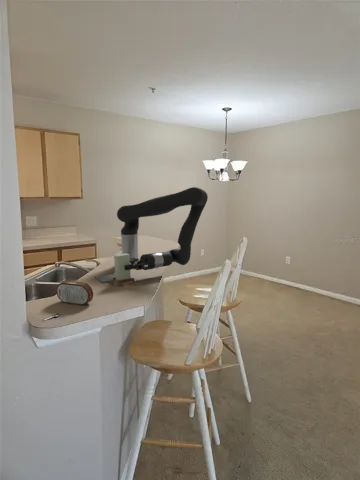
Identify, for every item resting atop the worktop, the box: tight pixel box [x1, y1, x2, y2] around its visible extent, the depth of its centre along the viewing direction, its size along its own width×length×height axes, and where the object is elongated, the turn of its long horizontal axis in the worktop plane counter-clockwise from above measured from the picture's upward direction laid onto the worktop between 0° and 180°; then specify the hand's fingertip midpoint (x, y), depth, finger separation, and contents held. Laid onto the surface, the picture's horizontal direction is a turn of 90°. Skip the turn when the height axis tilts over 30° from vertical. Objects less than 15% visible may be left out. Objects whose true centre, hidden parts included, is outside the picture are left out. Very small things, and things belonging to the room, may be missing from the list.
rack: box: [109, 277, 135, 287], centre depth 145 cm, size 7×9×2 cm
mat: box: [95, 273, 115, 284], centre depth 152 cm, size 10×14×1 cm
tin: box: [55, 279, 94, 306], centre depth 119 cm, size 15×3×8 cm, turn 71°
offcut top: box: [121, 280, 136, 288], centre depth 140 cm, size 3×5×1 cm, turn 131°
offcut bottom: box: [120, 283, 137, 289], centre depth 140 cm, size 4×6×1 cm, turn 124°
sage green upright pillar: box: [113, 253, 132, 281], centre depth 144 cm, size 4×6×13 cm, turn 124°
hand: (120, 266), depth 143 cm, fingers open, 8 cm apart
